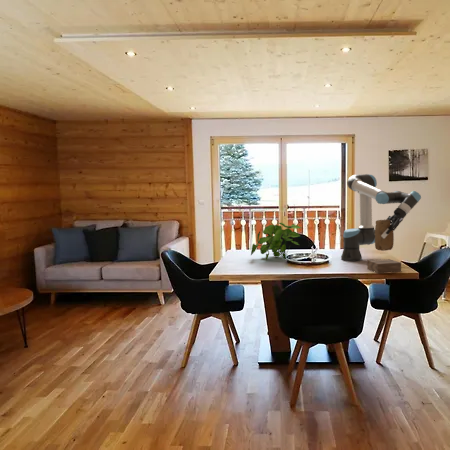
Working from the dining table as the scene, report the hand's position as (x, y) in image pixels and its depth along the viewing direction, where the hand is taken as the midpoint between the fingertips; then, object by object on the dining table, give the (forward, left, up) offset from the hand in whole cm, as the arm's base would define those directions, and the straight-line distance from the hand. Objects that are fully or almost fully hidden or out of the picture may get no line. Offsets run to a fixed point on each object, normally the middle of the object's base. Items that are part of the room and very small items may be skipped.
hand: (379, 236), depth 270 cm
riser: (0, +3, -23) cm, 23 cm away
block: (0, +4, -9) cm, 10 cm away
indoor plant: (-60, -53, -23) cm, 83 cm away
